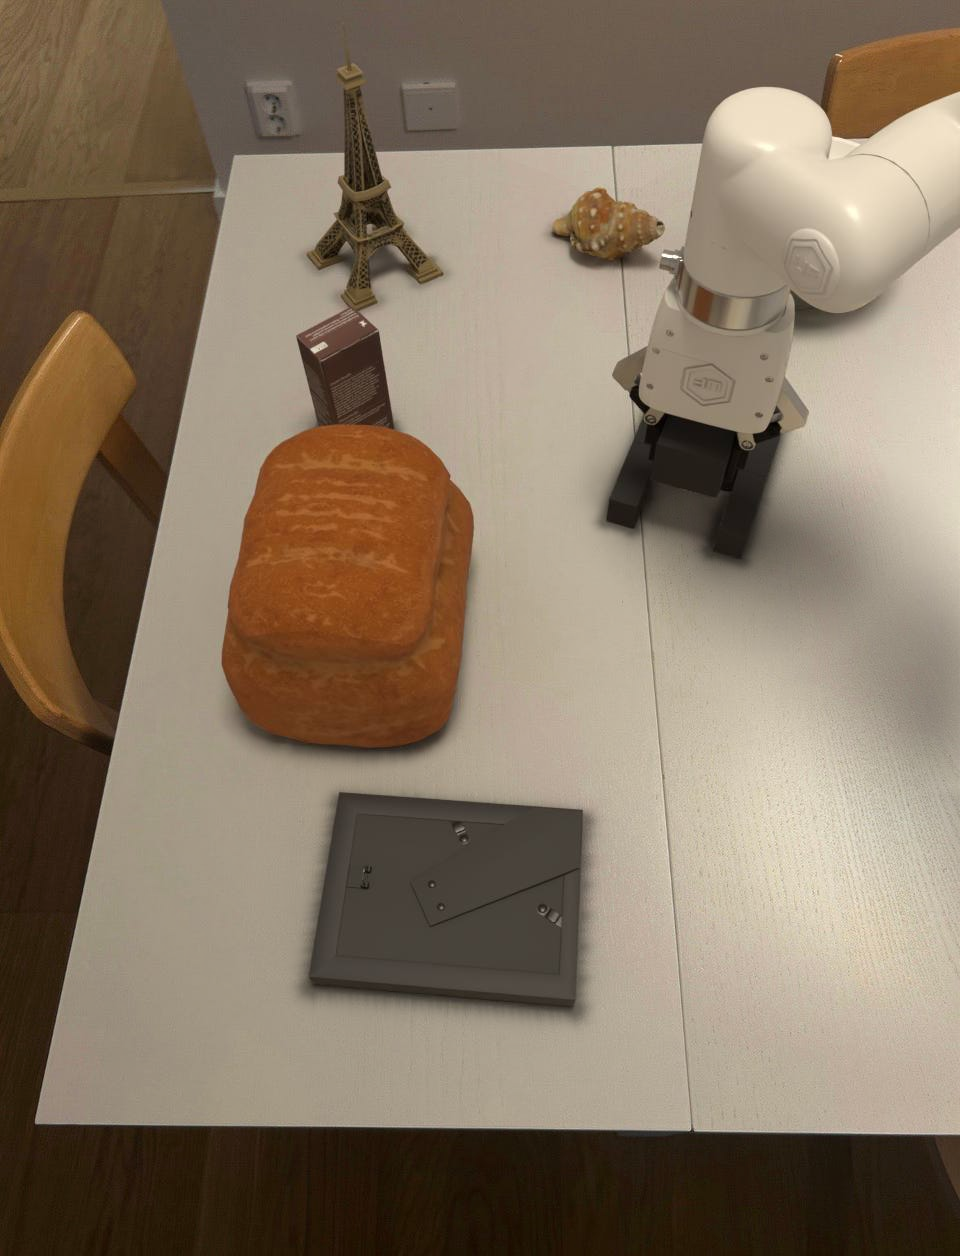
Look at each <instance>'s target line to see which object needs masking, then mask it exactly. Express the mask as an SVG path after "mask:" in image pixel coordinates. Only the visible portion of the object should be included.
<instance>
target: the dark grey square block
mask: <svg viewBox="0 0 960 1256" xmlns="http://www.w3.org/2000/svg"><path fill="white" fill-rule="evenodd" d="M736 434H737V432H736V431H732V430H728V429H724V428H720V427H716V426H712V425H708V424H705V423H701V422H697V421H693V420H690V419H686V418H682V417H679V416H675V415H671V414H668V416H667V418H666V421H665V423H664V426H663V428H662V431H661V434H660V436H659V439H658V441H657V444H656V449H655V455H654V461H653V466H652V472H651V477H650V480H651V481H652V482H655V483H658V484H661V485H665V486H669V487H672V488H675V489H680V490H683V491H687V492H690V493H694V494H698V495H701V496H705V497H708V498H712V499H715V500H716V499H718V497H719V494H720V491H721V489H722V488H721V485H722V482H723V479H724V474H725V471H726V467H727V463H728V460H729V456H730V452H731V449H732V446H733V443H734V440H735V437H736Z"/></svg>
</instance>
